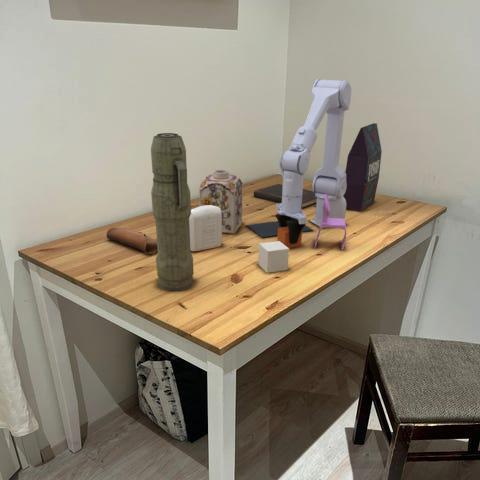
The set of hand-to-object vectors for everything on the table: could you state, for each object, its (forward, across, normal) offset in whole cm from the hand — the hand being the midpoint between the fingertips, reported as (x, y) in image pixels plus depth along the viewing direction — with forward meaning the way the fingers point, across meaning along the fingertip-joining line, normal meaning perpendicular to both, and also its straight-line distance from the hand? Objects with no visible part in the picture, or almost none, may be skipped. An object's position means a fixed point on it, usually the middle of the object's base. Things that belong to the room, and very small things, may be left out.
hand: (289, 240), depth 144 cm
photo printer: (+2, -7, -24) cm, 25 cm away
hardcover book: (+2, -44, +24) cm, 50 cm away
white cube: (+2, +13, -12) cm, 18 cm away
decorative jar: (+2, -22, -13) cm, 26 cm away
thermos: (+2, +13, -39) cm, 41 cm away
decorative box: (+2, -27, +44) cm, 52 cm away
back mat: (+1, -14, +4) cm, 15 cm away
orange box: (+1, 0, 0) cm, 1 cm away
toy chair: (+2, +5, +11) cm, 12 cm away
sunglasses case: (+2, -17, -42) cm, 45 cm away
